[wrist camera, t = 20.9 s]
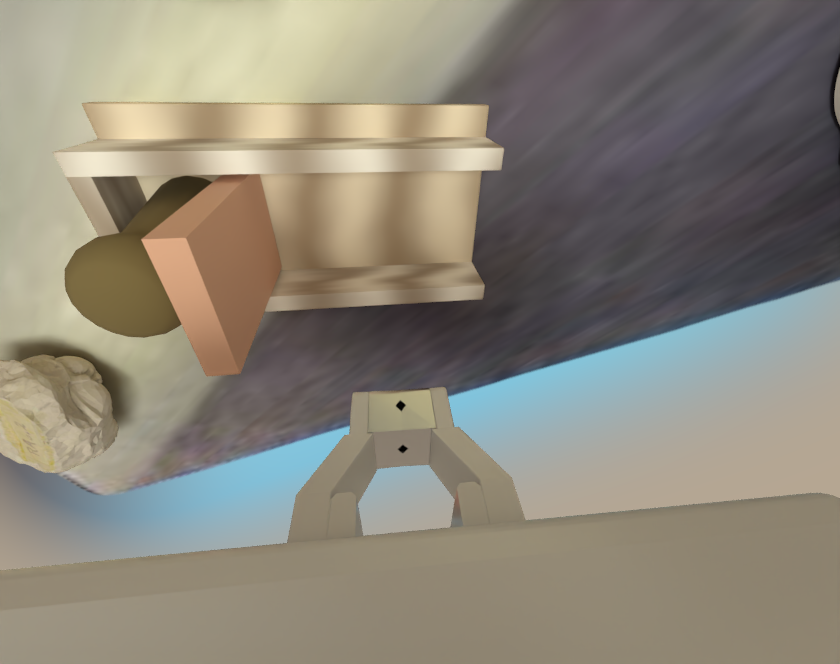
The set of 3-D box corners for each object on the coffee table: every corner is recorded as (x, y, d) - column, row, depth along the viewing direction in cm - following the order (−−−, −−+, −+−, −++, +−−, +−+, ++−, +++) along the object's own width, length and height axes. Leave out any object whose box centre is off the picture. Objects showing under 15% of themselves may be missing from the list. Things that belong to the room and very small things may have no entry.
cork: (149, 162, 22) (14, 225, 14) (252, 191, 24) (191, 263, 16) (156, 249, 26) (51, 344, 17) (246, 269, 27) (193, 364, 19)
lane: (484, 104, 24) (509, 112, 20) (465, 287, 32) (480, 318, 28) (91, 102, 21) (29, 111, 17) (183, 302, 30) (155, 339, 26)
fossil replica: (67, 429, 37) (168, 404, 38) (19, 511, 30) (140, 479, 31) (-50, 346, 28) (82, 318, 29) (-149, 436, 22) (21, 396, 23)
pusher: (257, 166, 23) (186, 237, 14) (281, 266, 28) (240, 373, 18) (231, 166, 23) (141, 239, 14) (260, 267, 27) (206, 376, 18)
